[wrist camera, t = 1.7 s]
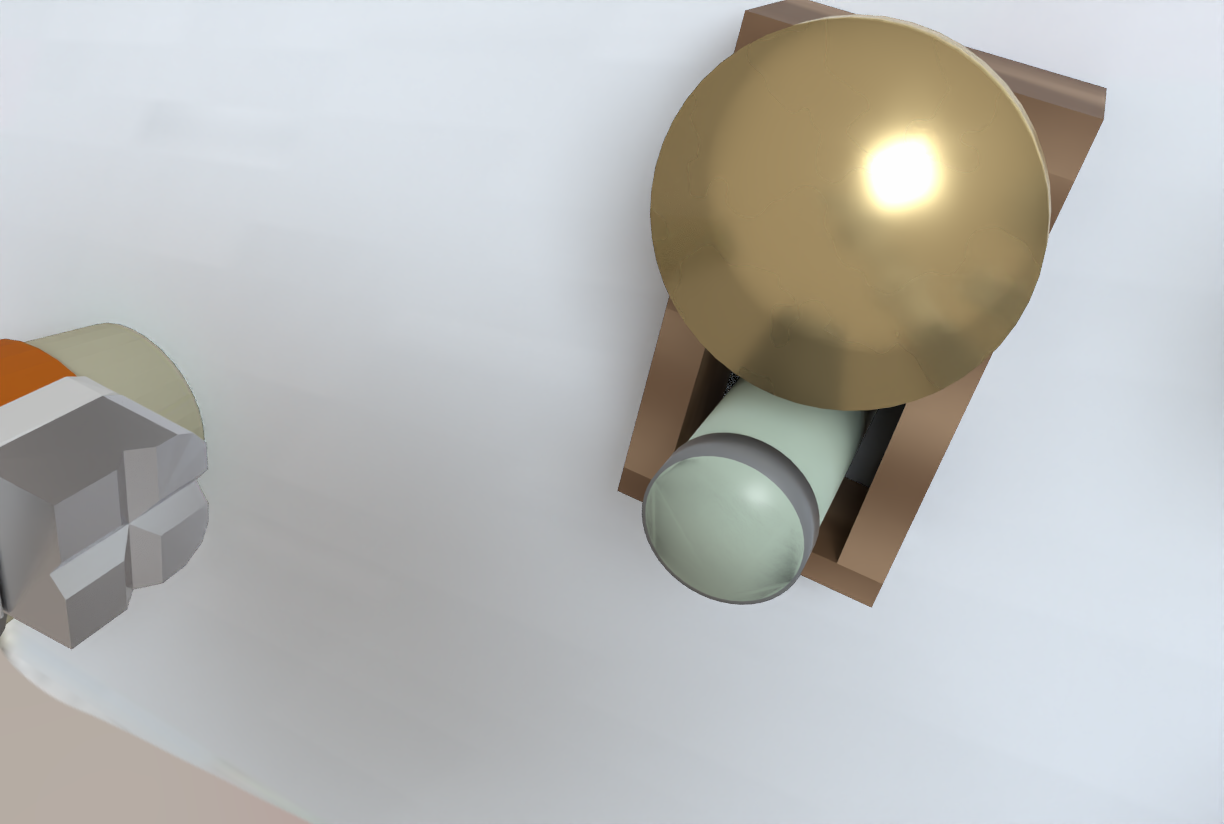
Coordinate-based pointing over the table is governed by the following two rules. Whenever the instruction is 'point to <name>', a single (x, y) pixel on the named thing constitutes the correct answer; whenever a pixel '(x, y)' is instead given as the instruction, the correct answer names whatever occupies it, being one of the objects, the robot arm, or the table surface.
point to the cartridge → (749, 494)
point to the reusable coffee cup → (100, 372)
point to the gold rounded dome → (851, 212)
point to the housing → (881, 515)
